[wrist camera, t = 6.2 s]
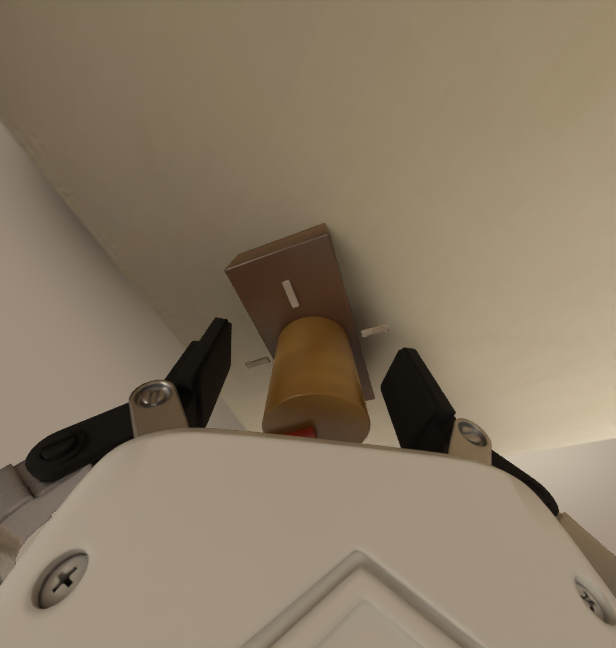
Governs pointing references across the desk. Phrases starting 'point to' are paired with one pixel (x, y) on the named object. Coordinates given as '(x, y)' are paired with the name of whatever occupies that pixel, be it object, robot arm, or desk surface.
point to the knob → (315, 384)
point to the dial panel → (297, 291)
